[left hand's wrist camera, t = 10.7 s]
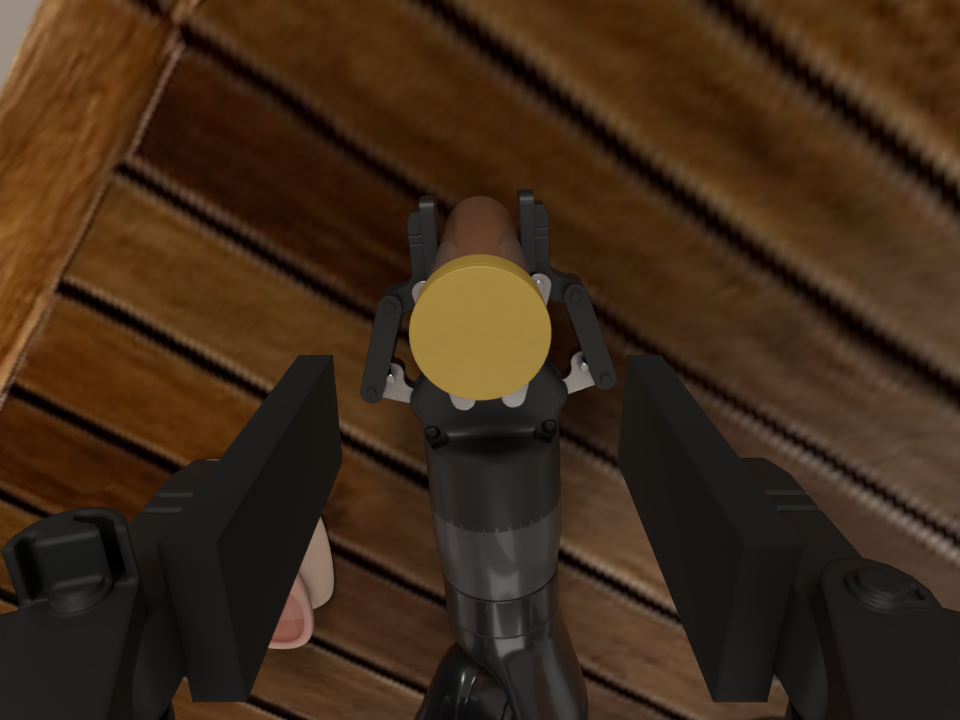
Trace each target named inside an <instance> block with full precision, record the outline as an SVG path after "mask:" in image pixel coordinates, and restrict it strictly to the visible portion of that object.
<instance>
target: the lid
mask: <svg viewBox="0 0 960 720" xmlns="http://www.w3.org/2000/svg"><path fill="white" fill-rule="evenodd" d="M409 339H410V346H411V350H412V353H413V356H414V359H415V361H416V363H417V365H418V366H419V368H420V369H421V371H422V372H423V374H424V375H425V376H426V377H427V378H428V379H429V380H430V381H431V382H432V383H433V384H435V385H436V386H437V387H439V388H440V389H442V390H443V391H445V392H447V393H449V394H451V395H454V396H457V397H460V398H464V399H469V400H490V399H497V398H500V397H504V396H506V395H509V394H511V393H513V392H515V391H517V390H519V389H520V388H522V387H523V386H524V385H526V384H527V383H528V382H529V381H530V380H531V379H532V378H534V376H535V375H536V374H537V373H538V371H539V370H540V369H541V367H542V365H543V364H544V362H545V359H546V357H547V355H548V351H549V348H550V343H551V323H550V318H549V314H548V311H547V308H546V305H545V302H544V299H543V297H542V294H541V292H540V290H539V288H538V286H537V285H536V283H535V282H534V280H533V279H532V278H531V277H530V275H528V274H527V273H526V272H525V271H524V270H523V269H522V268H520V267H519V266H518V265H516V264H514V263H512V262H511V261H509V260H506V259H503V258H501V257H497V256H493V255H484V254H478V255H468V256H463V257H460V258H457V259H454V260H452V261H450V262H448V263H446V264H445V265H443V266H441V267H440V268H439V269H437V270H436V271H435V272H434V273H433V274H432V275H431V276H430V277H429V278H428V279H427V281H426V282H425V284H424V285H423V287H422V289H421V291H420V293H419V295H418V298H417V301H416V304H415V307H414V310H413V313H412V316H411V320H410V326H409Z"/></svg>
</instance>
